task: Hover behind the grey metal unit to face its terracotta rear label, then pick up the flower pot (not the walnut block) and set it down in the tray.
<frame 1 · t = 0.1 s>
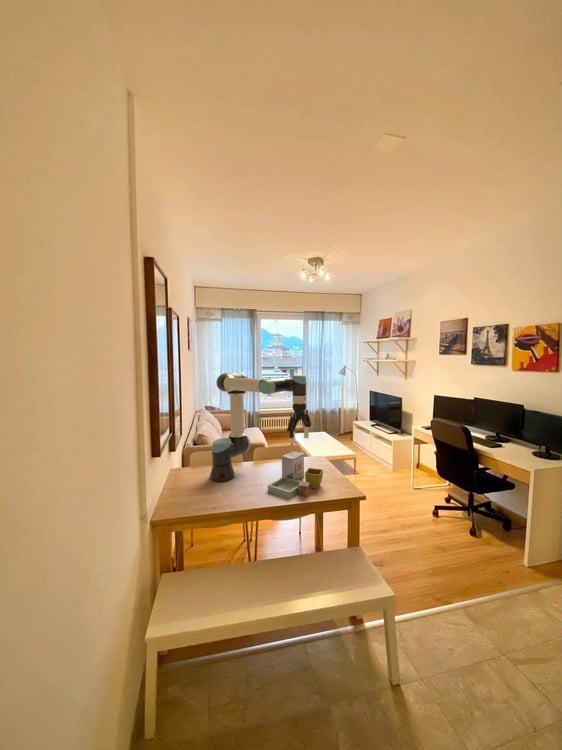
hand: (299, 440, 169), 28 cm above the table, fingers open, 13 cm apart
flower pot: (314, 486, 175), on the table
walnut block: (304, 494, 165), on the table
unit: (293, 478, 187), on the table
tray: (286, 489, 171), on the table
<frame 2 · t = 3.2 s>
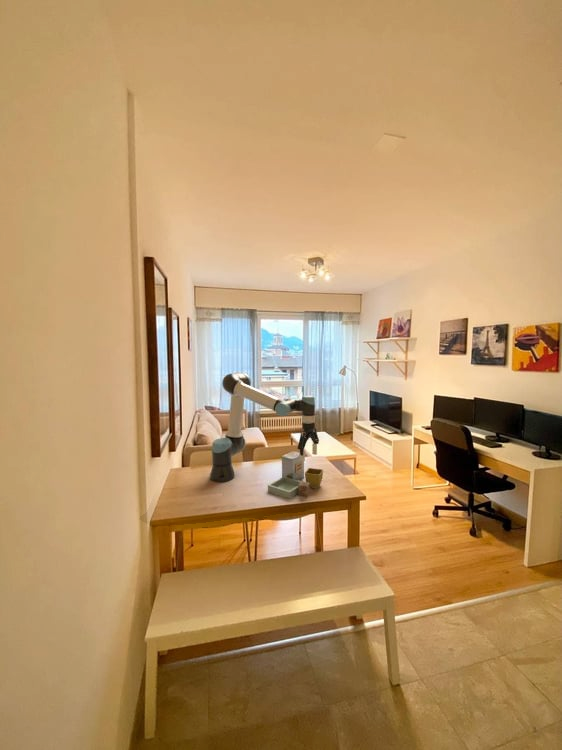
hand: (308, 457, 181), 15 cm above the table, fingers open, 13 cm apart
nothing on the table moved.
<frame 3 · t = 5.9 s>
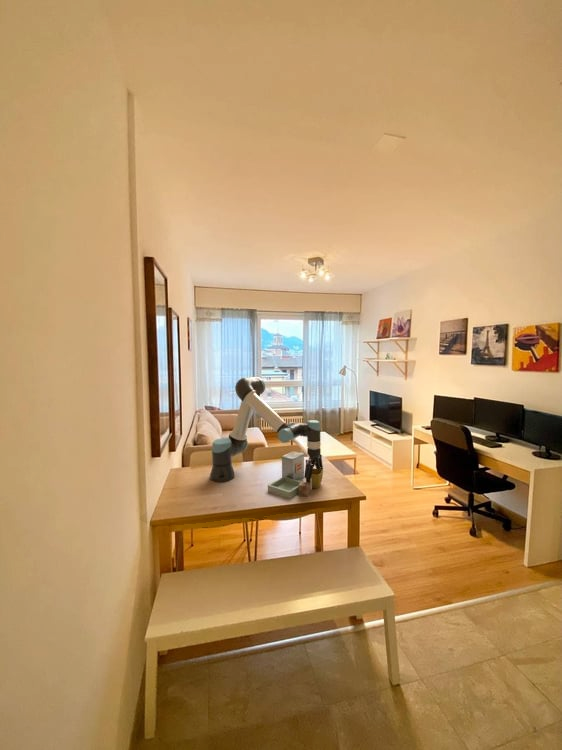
hand: (314, 486, 175), 0 cm above the table, fingers closed on flower pot, 9 cm apart
flower pot: (314, 486, 175), on the table, touching gripper
everything else where it was.
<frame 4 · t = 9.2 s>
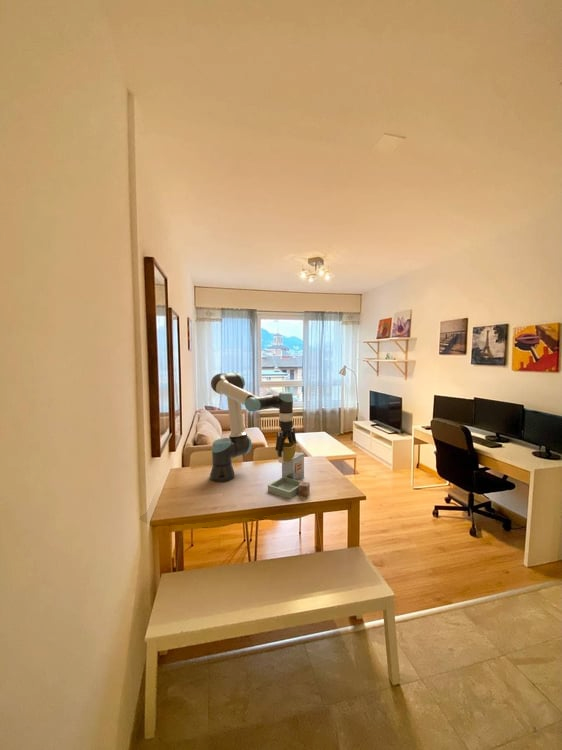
hand: (286, 459, 170), 17 cm above the table, fingers closed on flower pot, 9 cm apart
flower pot: (286, 460, 170), point 17 cm above the table, touching gripper
everything else where it was.
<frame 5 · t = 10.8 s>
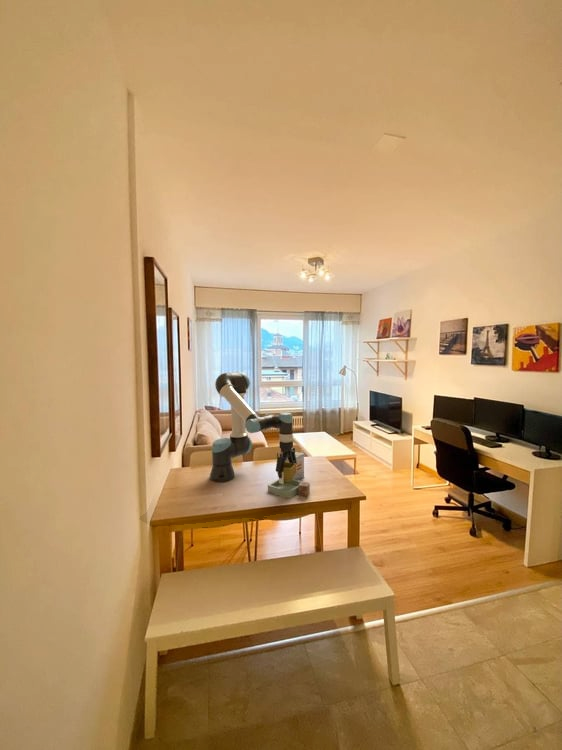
hand: (286, 480, 171), 6 cm above the table, fingers closed on flower pot, 9 cm apart
flower pot: (286, 481, 171), point 5 cm above the table, touching gripper
everything else where it was.
when the fingers open (3 cm above the table, at t = 11.8 s): flower pot drops 2 cm, resting on tray.
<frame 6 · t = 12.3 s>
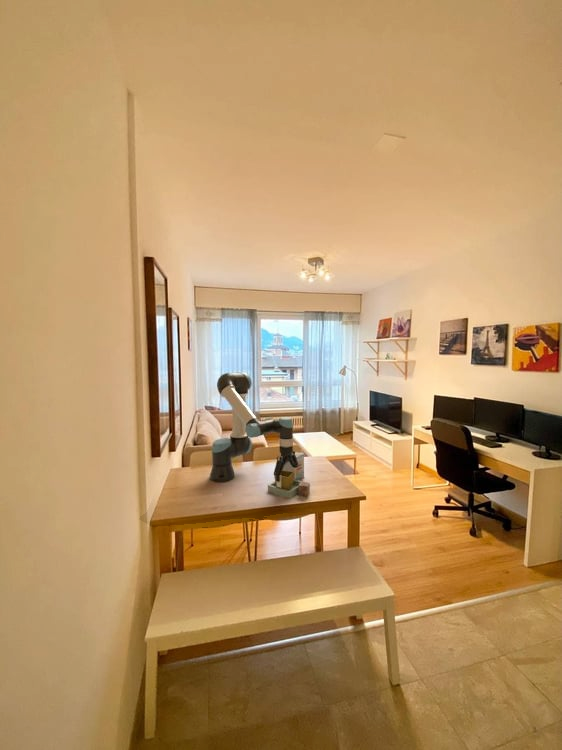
hand: (286, 482, 171), 4 cm above the table, fingers open, 13 cm apart
flower pot: (284, 489, 170), point 1 cm above the table, touching gripper, tray
everything else where it was.
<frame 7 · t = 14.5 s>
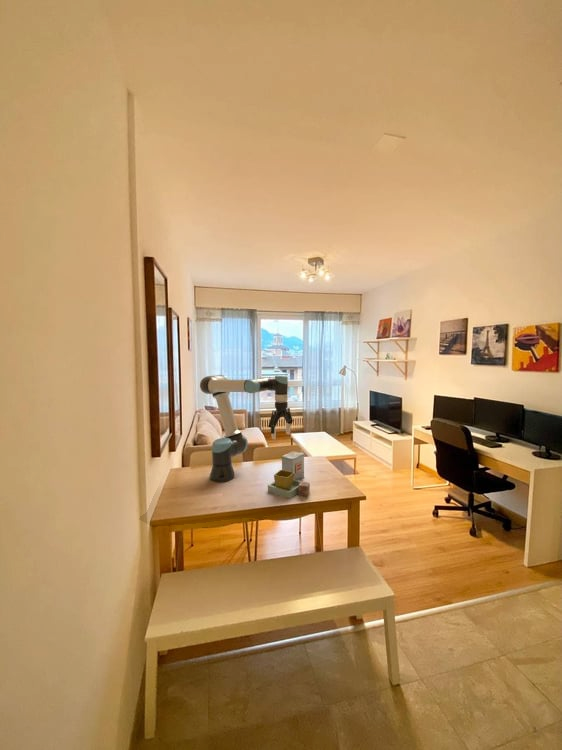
hand: (281, 436, 182), 27 cm above the table, fingers open, 13 cm apart
flower pot: (284, 489, 170), point 1 cm above the table, touching tray
everything else where it was.
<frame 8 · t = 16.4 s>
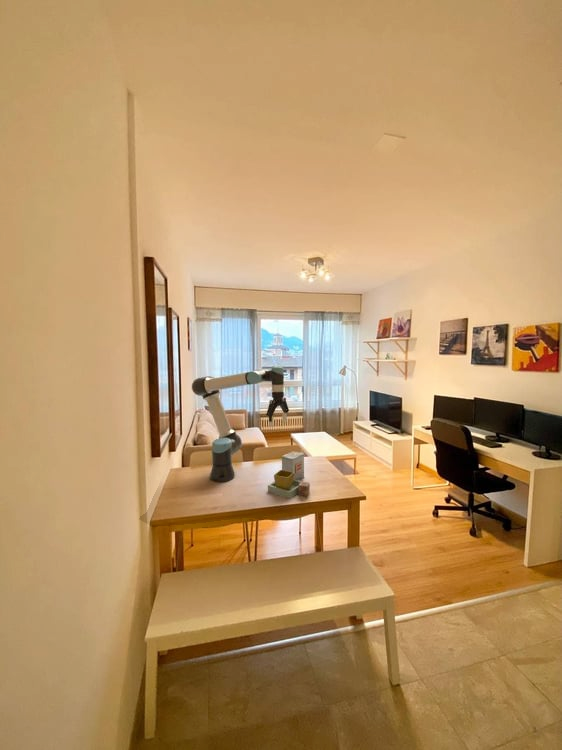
hand: (278, 424, 193), 32 cm above the table, fingers open, 13 cm apart
nothing on the table moved.
at the end: flower pot inside the target area on the tray (1.9 cm from its centre), point 0.8 cm above the tray's base; flower pot tilted 0°; the gripper is holding nothing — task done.
